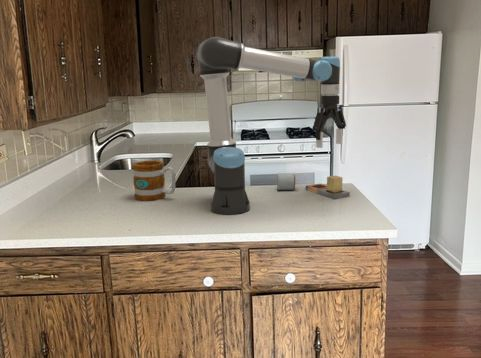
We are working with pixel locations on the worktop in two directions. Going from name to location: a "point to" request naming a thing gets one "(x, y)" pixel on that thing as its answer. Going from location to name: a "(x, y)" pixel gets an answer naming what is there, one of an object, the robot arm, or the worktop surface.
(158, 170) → the mug
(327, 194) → the grey slotted board
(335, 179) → the block
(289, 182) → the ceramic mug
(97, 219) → the worktop surface
